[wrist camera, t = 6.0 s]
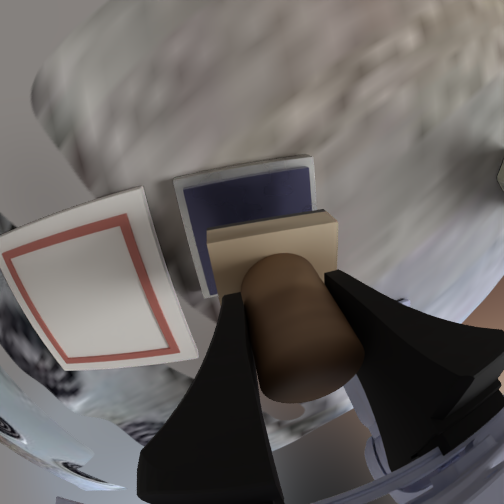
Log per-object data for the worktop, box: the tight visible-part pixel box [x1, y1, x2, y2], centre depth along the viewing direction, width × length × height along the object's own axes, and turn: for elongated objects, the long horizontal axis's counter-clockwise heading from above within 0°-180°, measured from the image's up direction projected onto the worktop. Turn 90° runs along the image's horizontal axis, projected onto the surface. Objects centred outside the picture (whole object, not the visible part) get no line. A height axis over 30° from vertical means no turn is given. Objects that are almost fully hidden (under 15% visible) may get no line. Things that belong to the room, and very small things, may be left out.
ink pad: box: [173, 155, 317, 298], centre depth 17 cm, size 8×8×2 cm
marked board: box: [0, 186, 199, 371], centre depth 17 cm, size 14×14×1 cm
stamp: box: [207, 209, 365, 403], centre depth 10 cm, size 5×5×6 cm
